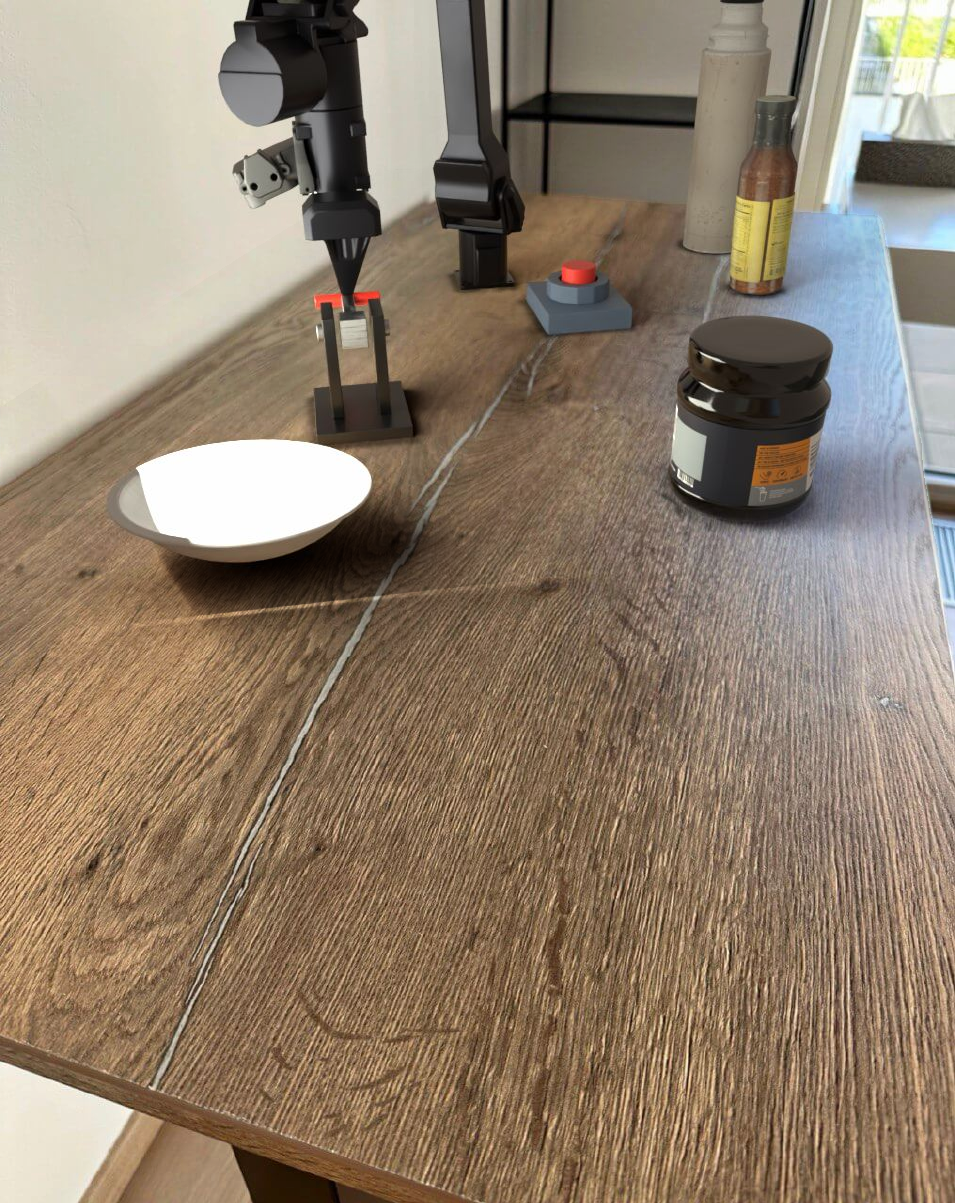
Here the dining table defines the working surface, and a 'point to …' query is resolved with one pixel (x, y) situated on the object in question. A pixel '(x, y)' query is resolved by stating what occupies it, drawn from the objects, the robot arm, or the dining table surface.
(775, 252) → the sauce bottle
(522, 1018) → the dining table surface
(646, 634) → the dining table surface
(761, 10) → the thermos bottle
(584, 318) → the button box
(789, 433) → the supplement container
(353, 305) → the lever
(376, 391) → the bracket
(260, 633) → the dining table surface
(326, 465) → the dish
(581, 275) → the button
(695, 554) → the dining table surface
